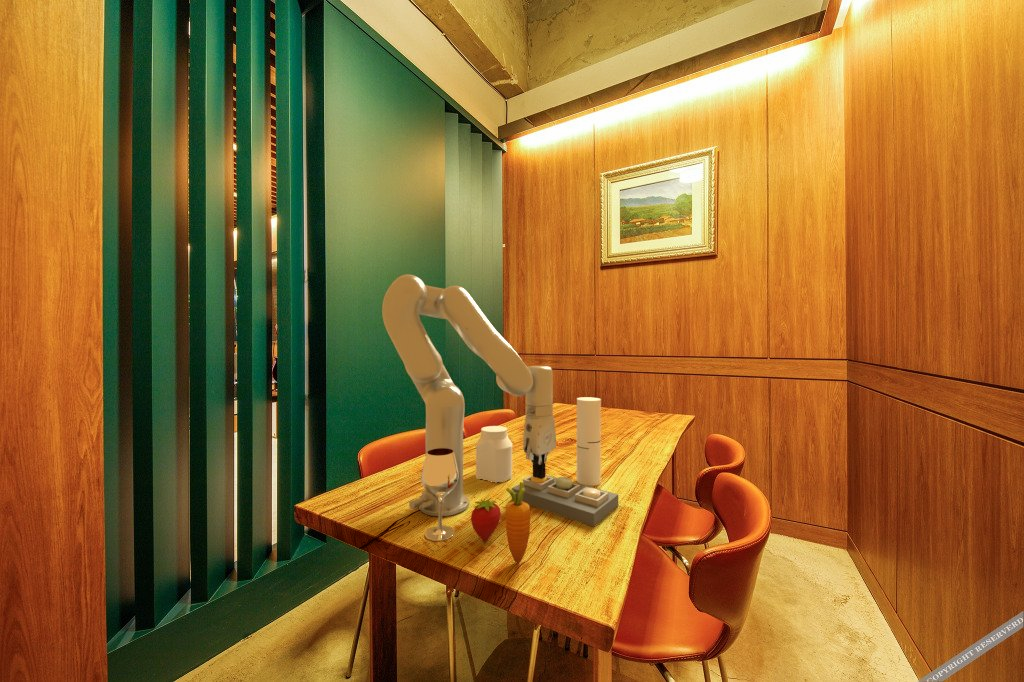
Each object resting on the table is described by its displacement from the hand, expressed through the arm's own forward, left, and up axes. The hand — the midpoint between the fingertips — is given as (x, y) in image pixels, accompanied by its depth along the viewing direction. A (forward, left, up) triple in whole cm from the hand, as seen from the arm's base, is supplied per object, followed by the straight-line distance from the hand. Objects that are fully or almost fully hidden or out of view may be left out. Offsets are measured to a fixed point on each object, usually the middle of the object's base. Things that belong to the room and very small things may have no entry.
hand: (539, 476), depth 103 cm
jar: (+3, +19, -5) cm, 20 cm away
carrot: (-29, -15, -5) cm, 33 cm away
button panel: (0, -8, -5) cm, 9 cm away
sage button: (0, -8, -1) cm, 8 cm away
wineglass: (-31, +5, -5) cm, 32 cm away
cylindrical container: (+18, -6, -5) cm, 20 cm away
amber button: (0, 0, -2) cm, 2 cm away
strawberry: (-27, -5, -5) cm, 28 cm away
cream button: (0, -16, -2) cm, 16 cm away
